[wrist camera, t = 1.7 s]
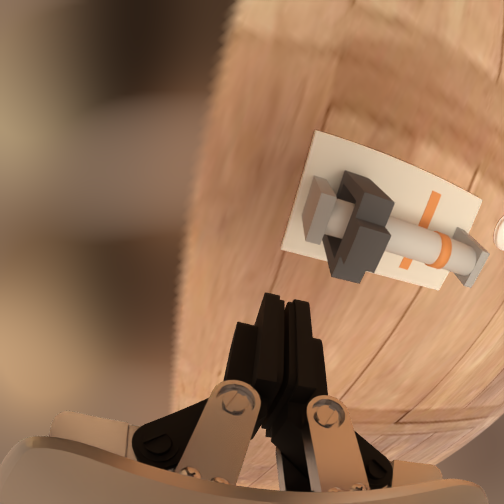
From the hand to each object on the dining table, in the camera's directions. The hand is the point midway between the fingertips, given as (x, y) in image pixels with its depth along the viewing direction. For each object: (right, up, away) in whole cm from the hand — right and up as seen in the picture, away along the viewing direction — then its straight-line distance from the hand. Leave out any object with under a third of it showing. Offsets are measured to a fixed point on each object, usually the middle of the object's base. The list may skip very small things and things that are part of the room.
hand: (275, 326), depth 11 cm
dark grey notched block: (+8, +7, +15) cm, 18 cm away
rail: (+13, +6, +16) cm, 22 cm away
